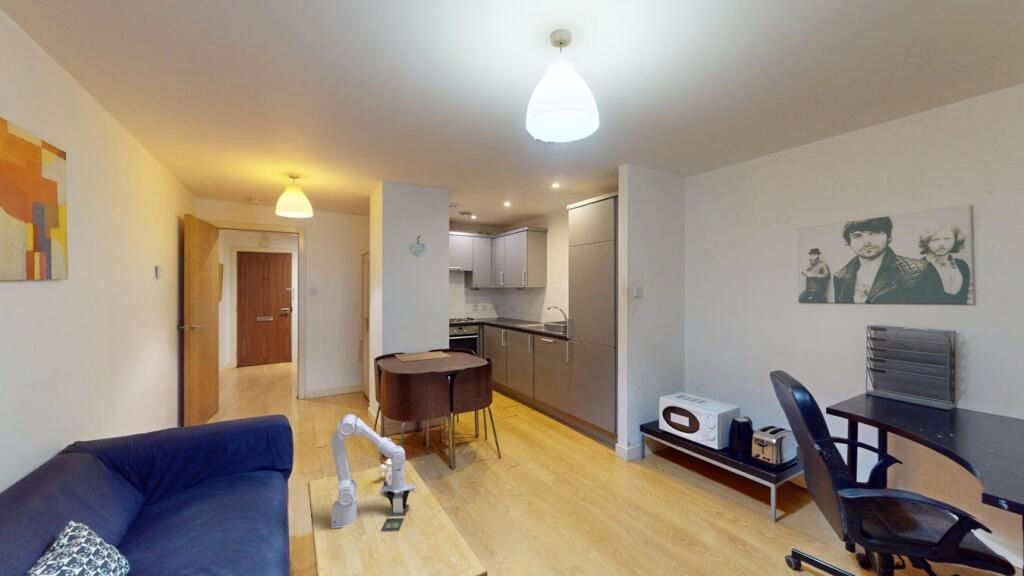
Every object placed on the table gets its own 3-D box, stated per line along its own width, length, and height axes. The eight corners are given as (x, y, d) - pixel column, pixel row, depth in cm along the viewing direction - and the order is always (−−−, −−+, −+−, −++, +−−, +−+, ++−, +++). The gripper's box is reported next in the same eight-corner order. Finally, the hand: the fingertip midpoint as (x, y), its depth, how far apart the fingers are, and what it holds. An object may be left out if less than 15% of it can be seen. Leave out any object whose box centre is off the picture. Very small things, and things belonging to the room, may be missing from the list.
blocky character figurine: (397, 477, 203) (396, 453, 202) (399, 480, 199) (399, 456, 199) (379, 482, 197) (378, 458, 197) (381, 485, 194) (381, 461, 194)
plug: (393, 514, 169) (392, 497, 168) (395, 508, 173) (395, 491, 172) (402, 513, 169) (402, 496, 169) (404, 508, 173) (404, 491, 173)
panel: (378, 535, 157) (378, 530, 157) (391, 508, 175) (391, 504, 174) (401, 534, 157) (401, 529, 157) (411, 508, 175) (411, 503, 175)
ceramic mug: (405, 494, 186) (405, 478, 186) (388, 501, 181) (388, 484, 181) (396, 486, 194) (396, 470, 194) (380, 491, 189) (379, 475, 189)
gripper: (378, 481, 166) (379, 513, 166) (413, 481, 166) (413, 512, 167) (383, 473, 173) (384, 504, 173) (416, 472, 174) (417, 503, 174)
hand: (399, 507), depth 171 cm, fingers closed on plug, 4 cm apart
